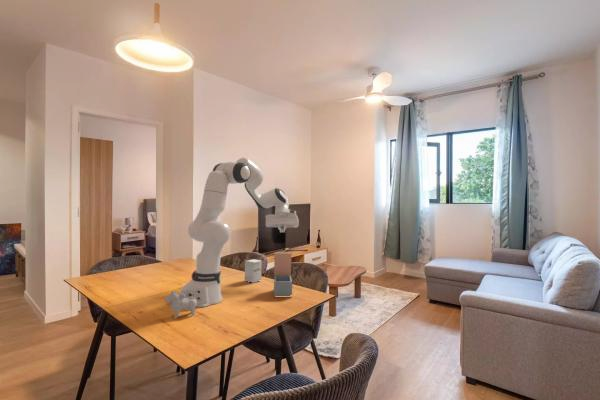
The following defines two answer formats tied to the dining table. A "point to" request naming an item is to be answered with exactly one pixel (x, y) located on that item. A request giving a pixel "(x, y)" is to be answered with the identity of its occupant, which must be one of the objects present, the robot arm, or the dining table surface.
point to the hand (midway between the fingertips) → (282, 231)
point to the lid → (282, 263)
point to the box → (282, 285)
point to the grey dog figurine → (181, 303)
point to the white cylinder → (253, 270)
